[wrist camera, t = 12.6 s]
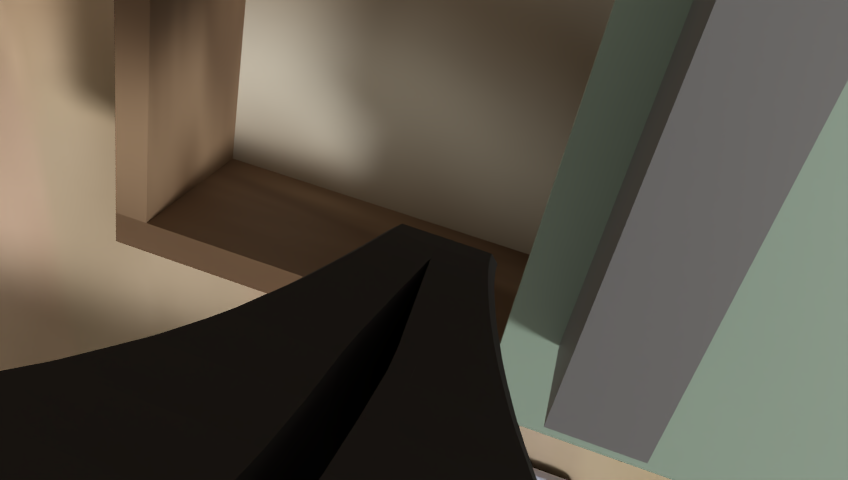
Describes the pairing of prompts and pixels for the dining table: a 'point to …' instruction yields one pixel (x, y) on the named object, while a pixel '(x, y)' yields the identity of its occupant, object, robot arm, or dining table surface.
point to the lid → (698, 248)
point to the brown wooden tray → (343, 127)
